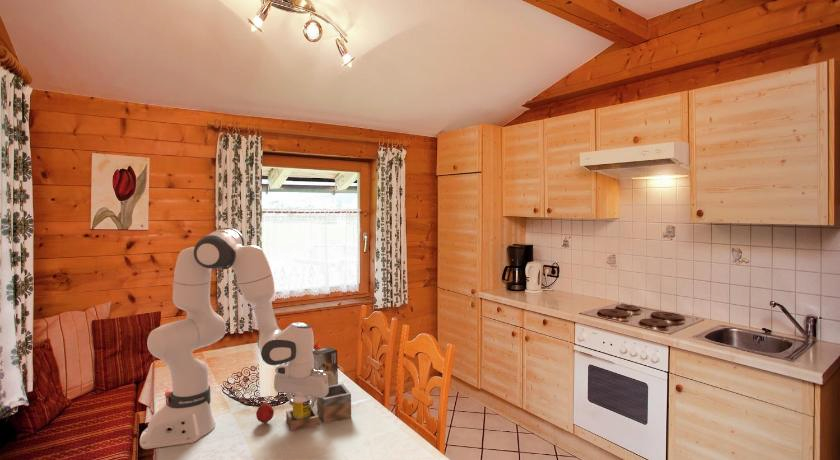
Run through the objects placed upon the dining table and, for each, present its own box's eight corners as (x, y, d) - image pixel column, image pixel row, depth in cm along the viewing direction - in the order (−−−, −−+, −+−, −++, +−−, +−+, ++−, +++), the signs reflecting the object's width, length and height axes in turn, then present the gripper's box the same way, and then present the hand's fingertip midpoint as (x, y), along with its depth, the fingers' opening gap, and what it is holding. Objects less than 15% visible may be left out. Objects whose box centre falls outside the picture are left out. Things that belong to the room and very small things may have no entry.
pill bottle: (305, 425, 155) (304, 394, 154) (289, 422, 156) (288, 392, 156) (313, 416, 161) (313, 387, 160) (298, 414, 162) (298, 385, 162)
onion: (257, 429, 153) (257, 406, 153) (255, 421, 158) (254, 400, 158) (275, 425, 156) (274, 403, 155) (272, 417, 161) (271, 396, 160)
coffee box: (330, 381, 193) (330, 345, 191) (338, 386, 188) (338, 349, 187) (311, 387, 187) (310, 350, 185) (318, 392, 182) (318, 354, 181)
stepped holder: (291, 431, 152) (291, 406, 151) (286, 418, 160) (285, 394, 160) (351, 417, 161) (350, 393, 161) (342, 406, 170) (342, 383, 170)
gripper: (331, 368, 157) (332, 405, 158) (281, 361, 163) (281, 397, 164) (323, 375, 151) (323, 414, 152) (271, 368, 157) (271, 405, 158)
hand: (301, 405), depth 158 cm, fingers closed on pill bottle, 6 cm apart
